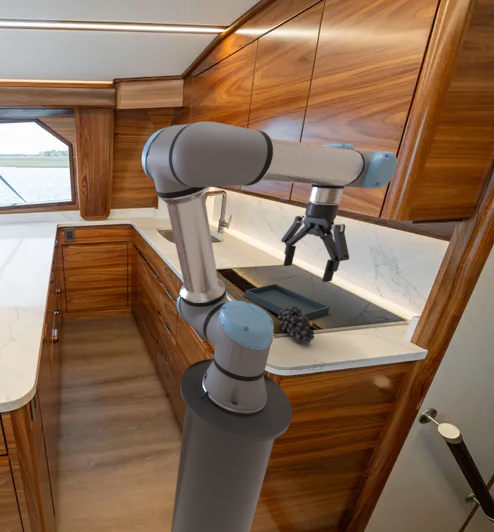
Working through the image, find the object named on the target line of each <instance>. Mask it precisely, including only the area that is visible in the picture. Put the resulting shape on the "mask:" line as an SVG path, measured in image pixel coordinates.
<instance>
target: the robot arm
mask: <svg viewBox="0 0 494 532" xmlns="http://www.w3.org/2000/svg"><path fill="white" fill-rule="evenodd" d="M141 166H142V169H143V172H144V174H145V175H146V176H147V177H148V178H149V179H150V180H151V181H153V182H154V185H155V190H156V194H157V197H158V199H160V200H161V201H163V202H165V203H166V208H167V212H168V216H169V221H170V226H171V230H172V235H173V239H174V244H175V248H176V253H177V257H178V262H179V267H180V271H181V276H182V280H183V284H182V285H181V287H180V289H179V293H178V294H179V296H178V297H177V298H176V310H177V312H178V314H179V315H180V317H181V318H182V320H183V321H184V322H185V323H186V324H188V325H189V326H191V327H192V328H193V329H194V330H195V331H197V332H198V333H199V334H200V335H201V336H202V337H203V338H205V339H206V340H207V341H208V342H209V343H211V344H212V345H213V347H214V353H213V358H212V359H213V361H212V363H211V365H210V366H209V368H208V369H207V371H206V373H205V375H204V377H203V382H202V389H203V392H204V394H203V395H202V396H201V398H202V399H203V398H204V397H207V399H208V400H209V401H210V402H211V403H212V404H213V405H215V406H216V407H218V408H219V409H221V410H223V411H225V412H227V413H230V414H233V415H238V416H253V415H256V414H259V413H260V412H262V411H263V410H264V408H265V406H266V402H267V391H266V388H265V381H264V375H265V370H266V367H267V362H268V359H269V355H270V350H271V346H272V344H273V341H274V329H275V327H274V326H275V325H274V321H273V319H272V317H271V316H270V314H269V313H268V312H267V311H266V310H265V309H264V308H262V307H260V306H258V305H256V304H254V303H248V302H247V301H244V300H229V298H228V297H227V290H226V284H225V283H224V281H222V280H221V279H220V278H218V272H217V266H216V260H215V253H214V247H213V240H212V235H211V229H210V228H211V227H210V223H209V222H210V221H209V216H208V210H207V204H206V197H205V193H206V192H207V190H208V189H209V188H213V187H215V188H216V187H229V186H230V187H231V186H245V187H246V186H247V187H250V186H254V185H256V184H258V183H260V182H270V183H271V182H272V183H287V184H288V183H289V184H303V185H305V184H306V185H307V184H308V185H311V186H310V191H309V195H308V203H307V204H306V208H305V213H304V215H296V216H295V217H294V220H293V223H292V224H291V226H289V228H288V230H287V231H286V232H285V234H284V235H283V236H282V238H281V239H280V241H281V243H284V245H285V248H284V261H283V266H284V267H289V266H292V265H293V261H294V257H295V252H296V248H297V246H296V244H297V243H298V242H299V241H300V240H302V239H303V238H305V237H306V236H307V235H311V236H312V235H313V236H314V237H319V239H320V240H321V241H322V242H323V244H324V247H325V249H326V251H327V253H328V255H329V257H330V259H327V262H326V265H325V269H324V272H323V276H322V280H321V281H322V282H323V283H327V282H332V281H333V277H334V274H335V272H338V270H339V267H340V263H341V262H345V261H349V259H350V254H349V249H348V244H347V240H346V235H345V234H346V233H345V231H346V224H345V223H341V224H340V223H339V224H337V223H335V219H336V218H337V215H338V212H339V208H340V206H339V204H340V203H341V201H342V196H343V194H344V189H345V187H347V188H360V189H366V190H367V189H377V190H378V189H381V188H383V187H385V186H387V185H388V184H389V183H390V182H391V181H392V179H393V178H394V176H395V173H396V171H397V168H398V159H397V156H396V154H395V153H394V152H391V151H380V150H375V151H366V150H357V149H355V146H354V145H353V144H351V143H331V144H330V143H329V144H328V143H327V144H323V145H319V144H314V143H313V144H312V143H305V142H298V141H292V140H283V139H276V138H272V137H271V135H270V134H269V133H267V132H266V131H263V130H257V129H256V130H255V129H252V128H247V127H242V126H238V125H232V124H227V123H222V122H217V121H197V122H193V123H192V122H191V123H185V124H178V125H177V124H173V125H170V126H166V127H163V128H161V129H159V130H157V131H156V132H154V133H153V134H152V135H150V137H148V139H147V141H146V142H145V145H144V147H143V148H142V153H141ZM302 225H304V226H303V227H302Z"/></svg>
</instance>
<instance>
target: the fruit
mask: <svg viewBox="0 0 494 532" xmlns="http://www.w3.org/2000/svg"><path fill="white" fill-rule="evenodd" d="M278 313H279V315H277V319H278V320H279V321H280V325H282V327H281V330H282V331H284V332H287V333H288V334H289V335H290V336H291V337H293V338H296V341H297V342H298V343H302V344H304V345H307V344H309V343H311V341H313V340H314V339H315V335H314V334H315V331H314V330H313V329H311V325H312V324H311V323H310V320H308V318H307V317H306V316H305V315H302V312H301V309H300V308H298V307H297V306H293V307H290V306H287V307H286V308H285V311H283V310H279V311H278Z"/></svg>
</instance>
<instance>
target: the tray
mask: <svg viewBox="0 0 494 532" xmlns="http://www.w3.org/2000/svg"><path fill="white" fill-rule="evenodd" d="M244 298H246V299H248V300H250V301H251V302H254V303H255V304H258V305H260V306H261V307H263V308H265V309H266V310H269V311H271V312H273V313H275V314H276V315H277V316H279V313H278V311H279V310H283V311H285V308H286V307H287V306H290V307H293V306H297V307H298V308H300V309H301V312H302V315H305V316H306V317H307V318H308V321H311V320H313V319H317V318H320V317H323V316H327V315H328V314H329V312H330V307H331V306H328V305H326V304H324V303H321V302H320V301H317V300H315V299H312V298H310V297H308V296H305V295H303V294H301V293H299V292H296V291H293V290H291V289H289V288H287V287H284V286H282V285H279V284H277V283H272V284H267V285H262V286H258V287H254V288H250V289H246V290H245V293H244Z"/></svg>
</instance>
